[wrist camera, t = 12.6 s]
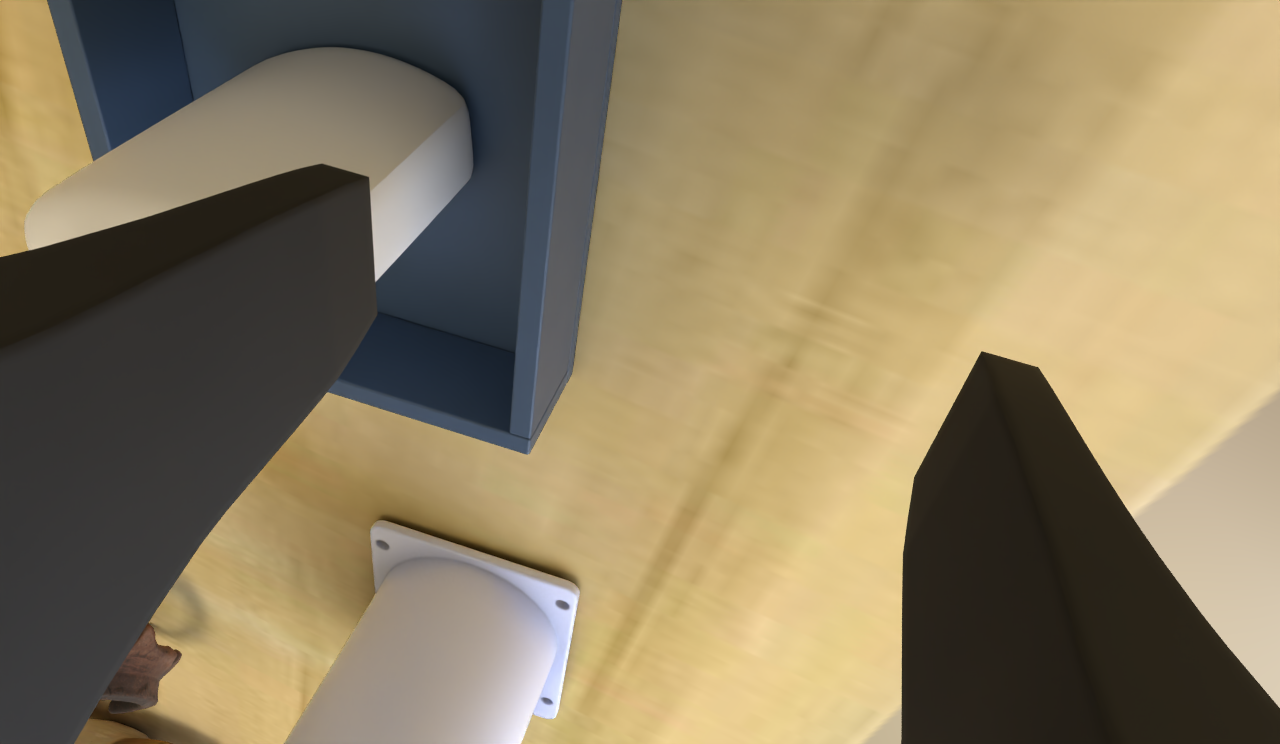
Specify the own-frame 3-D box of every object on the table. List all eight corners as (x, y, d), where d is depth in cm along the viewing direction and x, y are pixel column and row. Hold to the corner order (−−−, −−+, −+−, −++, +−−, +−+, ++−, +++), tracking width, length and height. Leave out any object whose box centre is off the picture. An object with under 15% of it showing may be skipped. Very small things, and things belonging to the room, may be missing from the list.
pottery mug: (119, 477, 36) (75, 687, 33) (246, 537, 45) (223, 710, 41) (-139, 510, 38) (-209, 715, 34) (32, 562, 46) (-10, 732, 42)
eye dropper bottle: (439, 243, 23) (115, 618, 14) (248, 116, 22) (-227, 430, 13) (507, 116, 20) (155, 484, 11) (291, -35, 19) (-276, 234, 10)
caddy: (572, 373, 25) (528, 456, 23) (221, 267, 27) (142, 334, 24) (641, -140, 17) (583, -102, 14) (115, -264, 18) (-27, -249, 15)
